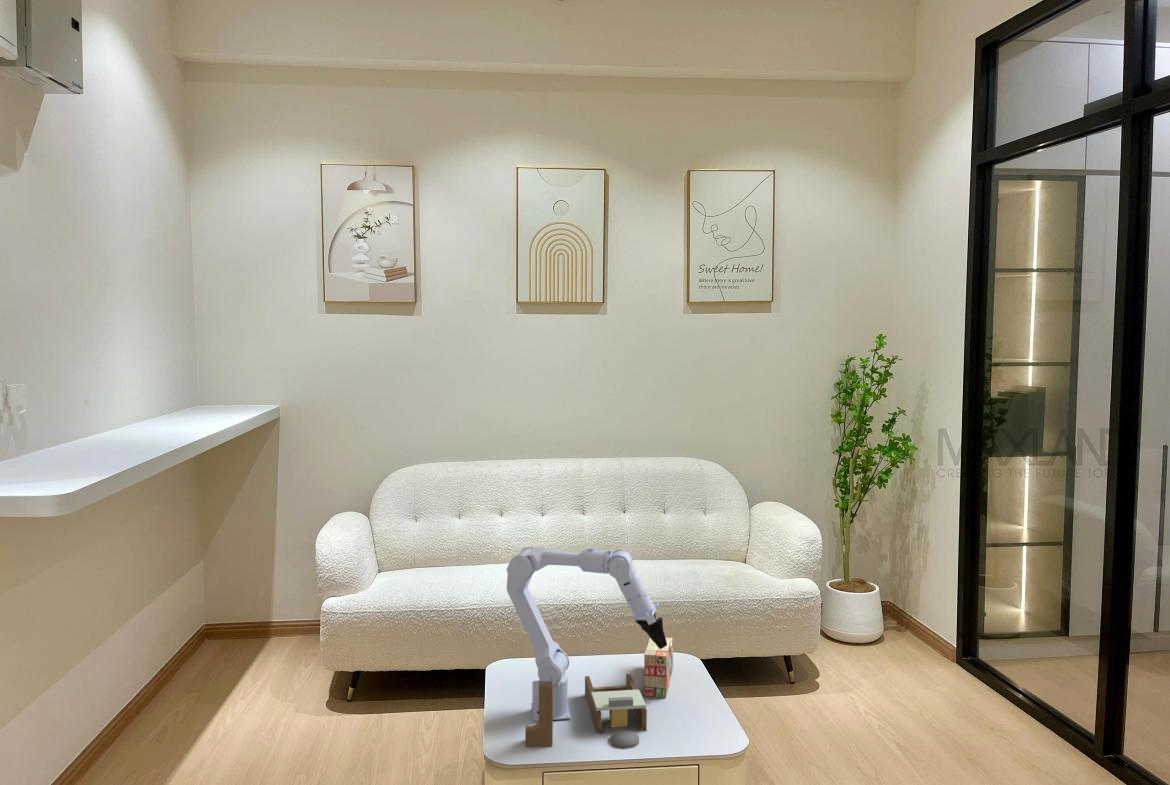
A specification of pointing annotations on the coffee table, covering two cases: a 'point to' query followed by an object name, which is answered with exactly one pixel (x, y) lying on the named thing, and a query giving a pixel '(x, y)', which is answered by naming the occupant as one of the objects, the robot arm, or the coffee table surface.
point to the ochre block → (618, 717)
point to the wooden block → (542, 718)
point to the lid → (618, 700)
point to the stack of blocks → (658, 669)
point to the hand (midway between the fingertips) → (660, 643)
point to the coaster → (624, 739)
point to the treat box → (630, 685)
